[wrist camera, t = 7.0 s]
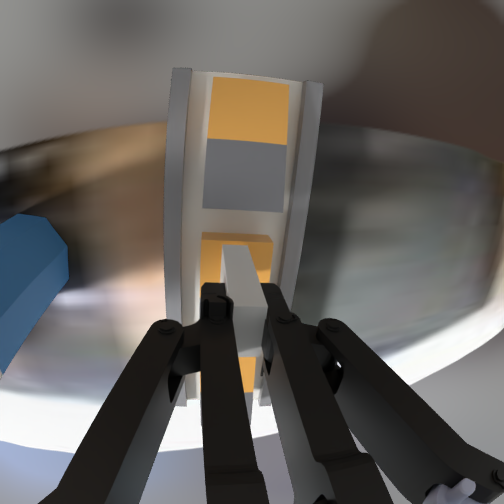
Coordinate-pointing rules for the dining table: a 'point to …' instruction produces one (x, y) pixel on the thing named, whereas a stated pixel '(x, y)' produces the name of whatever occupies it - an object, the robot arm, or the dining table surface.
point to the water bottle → (27, 278)
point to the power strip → (222, 220)
